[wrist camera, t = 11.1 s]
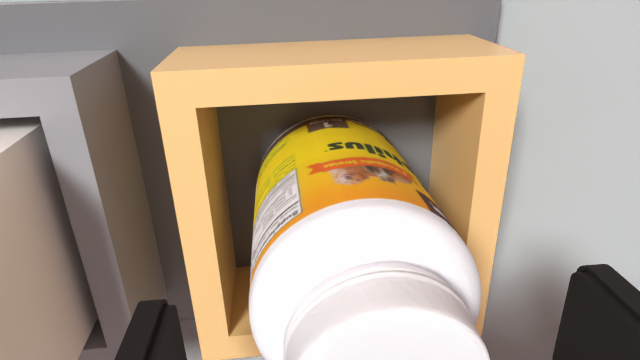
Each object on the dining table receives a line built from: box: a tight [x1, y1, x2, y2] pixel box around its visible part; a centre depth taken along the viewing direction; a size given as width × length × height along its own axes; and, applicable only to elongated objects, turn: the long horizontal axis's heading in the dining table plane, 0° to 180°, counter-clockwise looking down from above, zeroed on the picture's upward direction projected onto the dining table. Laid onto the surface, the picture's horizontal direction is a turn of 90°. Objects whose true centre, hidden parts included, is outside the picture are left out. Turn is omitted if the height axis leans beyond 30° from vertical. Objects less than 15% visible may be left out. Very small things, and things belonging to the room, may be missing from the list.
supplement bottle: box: [249, 115, 490, 360], centre depth 13 cm, size 6×6×10 cm
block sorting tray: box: [0, 0, 526, 360], centre depth 14 cm, size 24×13×9 cm, turn 91°
